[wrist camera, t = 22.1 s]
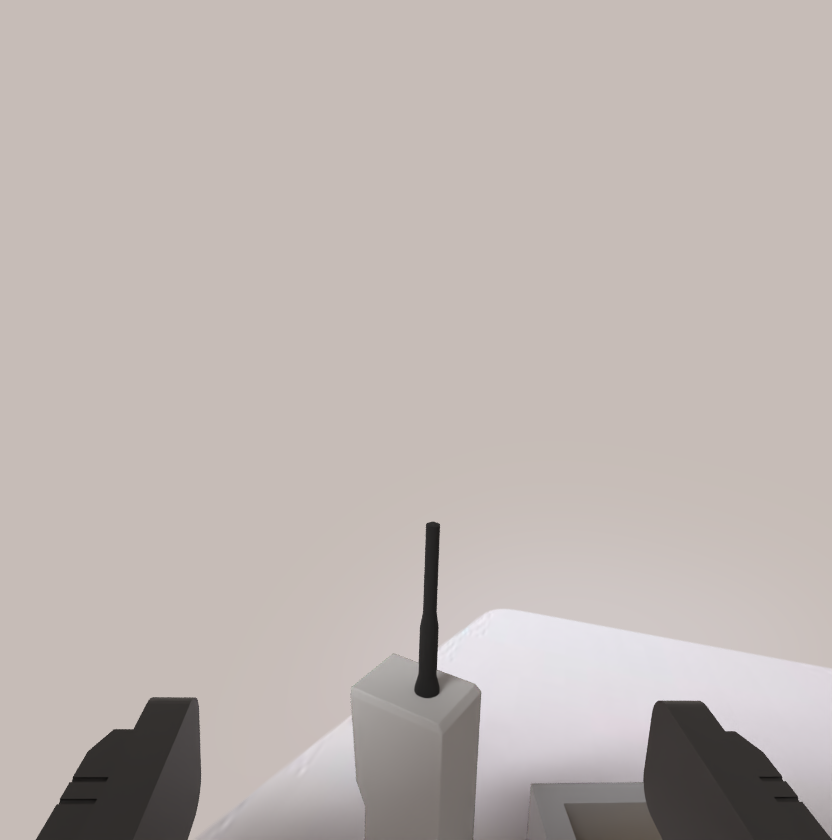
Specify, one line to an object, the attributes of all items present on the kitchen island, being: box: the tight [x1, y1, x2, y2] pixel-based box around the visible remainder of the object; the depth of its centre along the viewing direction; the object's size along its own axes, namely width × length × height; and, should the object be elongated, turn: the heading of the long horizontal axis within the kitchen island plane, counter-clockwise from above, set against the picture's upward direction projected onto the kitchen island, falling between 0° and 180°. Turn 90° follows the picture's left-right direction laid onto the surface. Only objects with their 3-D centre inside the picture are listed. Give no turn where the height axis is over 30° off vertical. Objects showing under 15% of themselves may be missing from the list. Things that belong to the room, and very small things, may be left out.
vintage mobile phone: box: [351, 522, 481, 840], centre depth 33 cm, size 4×5×25 cm
